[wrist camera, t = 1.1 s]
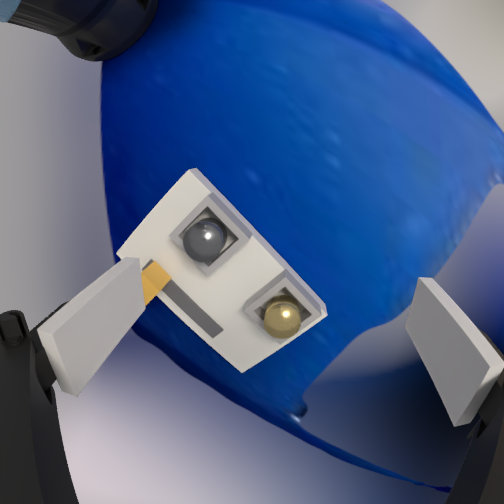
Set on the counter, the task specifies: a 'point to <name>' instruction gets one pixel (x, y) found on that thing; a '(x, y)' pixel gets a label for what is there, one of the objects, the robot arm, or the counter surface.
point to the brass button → (282, 317)
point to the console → (220, 273)
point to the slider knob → (153, 281)
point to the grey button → (205, 240)
